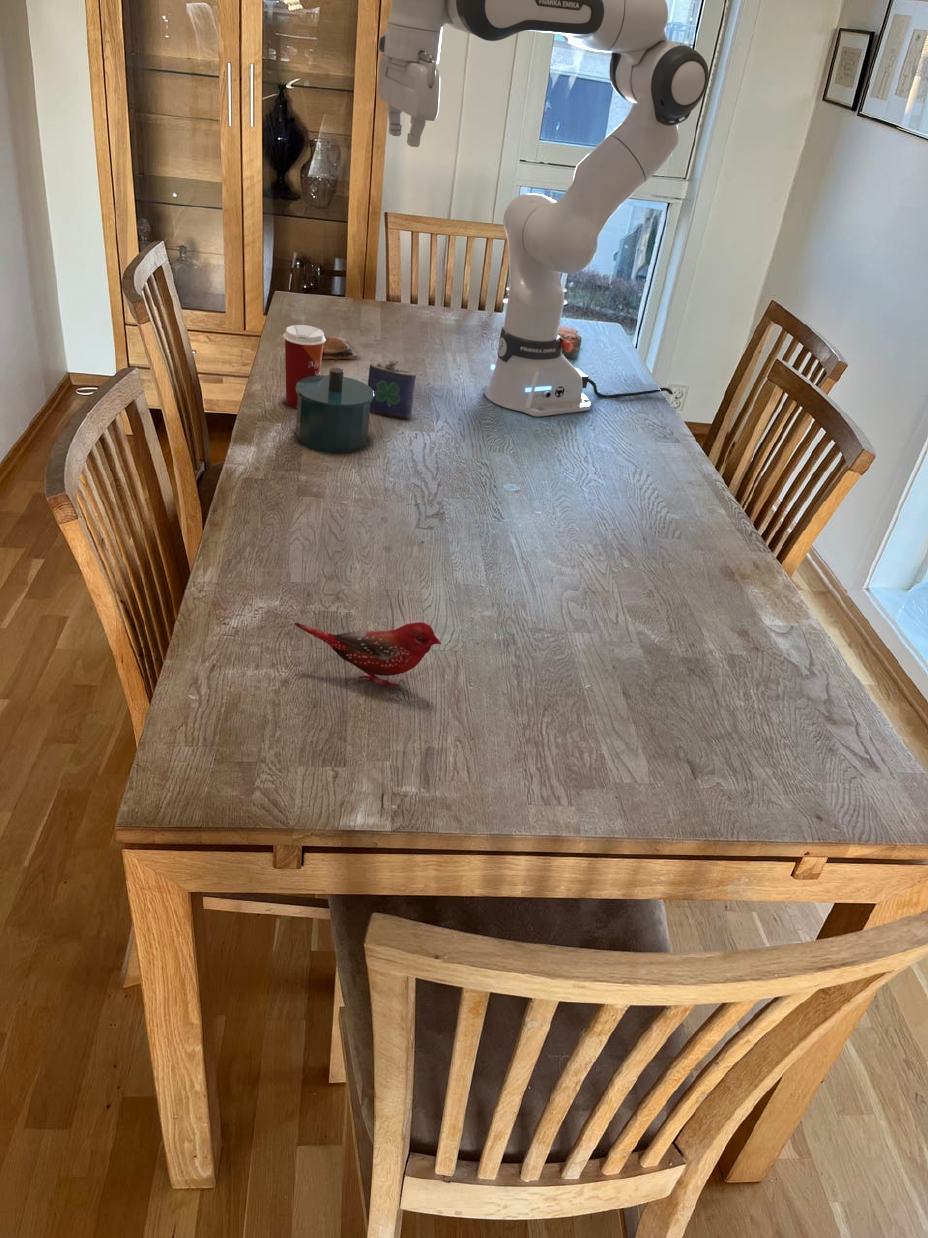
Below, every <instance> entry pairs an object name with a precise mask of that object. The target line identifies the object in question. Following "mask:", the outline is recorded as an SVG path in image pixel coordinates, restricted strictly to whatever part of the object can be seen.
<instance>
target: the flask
mask: <svg viewBox="0 0 928 1238" xmlns="http://www.w3.org/2000/svg"><path fill="white" fill-rule="evenodd" d="M398 363H399V360H397V359H389V360H388V364H385V363H382V361H379V362H373V363H370V364H369V368H368V370H369V371H368V379H367V385H368V386H369V387H371V388H372V389H373V391H374V399H373V400H372V401H371V407H370V413H373V414H375V415H376V414H377V415H379V416H387V417H388V418H393V419H398V420H404V421H405V420H411V418H412V415H413V414H412V413H413V403H414V395H415V393H414V392H415V386H416V380H417V374H416V373H415V372H414V371H412V370H404V369H401V368H397V364H398Z"/></svg>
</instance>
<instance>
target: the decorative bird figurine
mask: <svg viewBox="0 0 928 1238" xmlns="http://www.w3.org/2000/svg"><path fill="white" fill-rule="evenodd" d="M293 624H294V626H296V627H298V628H299V629H301V630H302V631H304V632H306V633H308V634H310V635H311V636H314V637H315V638H317V639H319V640H320V641H323V642H324V643H325V644H326V645H328V646H329V647H330V648H331V649H332V650H333V651H334V653H336V654H337V656H339V657H340V659H342V660H344V662H345V661H346V662H348V663H349V664H351V665H353V666H354V667H356V668H357V669H359V670H361V671H362V672H363V673H364V674H366V675H362V676H359V677H358V678H359V679H364V680H365V681H366V682H370V683H371V682H372V683H374V684H378V685H380V686H383V687H387V686H393V687H395V686H396V687H401V685H400V684H398V683H391V682H390V681H389V680H387V679H383V678H381V677H379V676H382V677H389V676H390V677H392V676H397V675H398V676H399V675H401V674H405V673H407V672H409V671H411V670H413V669H414V668H415V667H417V665H419V664H420V662H421V661H422V660H423V658H424V657H425V656H426V654H428V653H429V652H430V650H431V649H432V646H433V645H442V642H441V641H440V640H439V638H438V637H437V636H436V635H435V631H434V630H433V628H432V627H431V626H430V625H429V624H428V623H426V622H417V621H416V622H412V623H411V622H410V623H406V624H403V625H402V626H399V627H397V628H395V629H389V630H388V629H387V630H356V631H350V632H349V631H348V632H342V633H339V634H333V633H329V632H327V631H323V630H320V629H318V628H314V627H311V626H309V625H305V624H302V623H299V622H295V623H293Z"/></svg>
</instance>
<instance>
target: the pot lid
mask: <svg viewBox="0 0 928 1238" xmlns="http://www.w3.org/2000/svg"><path fill="white" fill-rule="evenodd" d="M344 373H345V371H344V369H343V368H340V367H331V368H330V369H329V373H328V374H320V375H318V376H311V377H307V378H304V379H301V380H300V381H299V382H297V384H296V392H297V394H298V395H299V396H300V397H302V398H303V399H305V400H307V401H309V402H312V403H315V404H318V405H322V406H327V407H335V408H353V407H360V406H364V405H366V404H369V403H370V402H371V401H372V400H373V399H374V391H373V389H372V388H371V387H369V386H368V383H367V384H366V383H364V382H363V381H361V380H358V379H354V378H351V377H347V376H344Z"/></svg>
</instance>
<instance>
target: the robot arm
mask: <svg viewBox="0 0 928 1238" xmlns="http://www.w3.org/2000/svg"><path fill="white" fill-rule="evenodd" d="M668 21H669V8H668V4H667V1H666V0H391V9H390V13H389V16H388V19H387V27H386V30H385V33H384V34H382V35H381V36H380V37H379V38H378V45H377V50H378V53H380V54H381V55H380V57H379V65H378V94H379V99H380V101H382V102H383V103H386V104H387V116H388V134H389V135H391V136H393V137H400V136H401V135H402V126H403V125H402V124H401V114H402V112H403V113H404V114H407V115H408V116H410V121H409V122H410V124H411V125H410V129H409V133H408V132H407V137H406V138H407V140H406V144H407V145H408V146H409V147H411V148H419V147H420V146H421V145H420V144H421V136H422V134H423V132H424V129H425V127H426V122H428V121H429V122H434V121H436V119H437V117H438V114H439V107H440V95H441V94H440V93H441V74H440V71H439V69H438V68H437V65H439V62H440V53H441V45H442V36H443V28H444V26H445V25H446V24H447V25H448V26H450V27H452V28H453V29H455V30H457V31H461V32H464V33H468V34H471V35H474V36H475V37H477V38H479V39H481V40H484V41H488V42H495V41H496V42H497V41H501V40H504V39H507V38H509V37H512V36H513V35H516V34H518V33H522V32H525V31H526V32H537V33H539V32H540V33H549V34H550V33H551V34H559V35H562V37H563V39H564V40H565V42H567V44H571V45H573V46H576V47H579V48H582V49H585V50H589V51H594V52H601V53H602V52H603V53H610V54H611V57H610V60H609V61H610V62H609V71H608V72H609V81H610V84H611V87H612V88H613V90H614V91H615V92H616V93H617V95H618V96H619V97H621V98H622V99H624V100H625V101H628V102H631V103H632V104H631V107H630V110H629V112H628V114H627V116H626V117H625V118H624V120H623V121H622V123H620V124H619V126H617V127H616V128H614V129H613V131H611V132H610V133H609V134H608V135H607V136H606V137H605V138H603V139H602V140H601V142H600V143H598V144H597V145H596V146H595V148H593V149H592V150H591V151H590V152H589V153H588V154H587V155H585V157H584V158H583V159H581V160H580V161H579V162H578V163H577V165H576V167H575V168H574V173H573V180H572V182H571V183H570V185H569V186H568V188H567V190H565V193H564V194H563V195H562V196H561V197H560V198H559V199H558V200H554V199H552V198H551V197H548V196H546V195H544V194H539V193H523V194H520V195H518V196H516V197H515V198H513V199H512V200H511V201H510V202H509V204H508V205H507V207H506V209H505V211H504V214H503V219H502V225H503V229H504V234H505V236H506V239H507V250H508V251H507V252H508V271H509V272H508V273H509V275H508V276H509V283H508V284H509V285H508V286H509V287H508V298H507V305H506V312H505V317H504V322H503V326H501V328H500V329H501V330H500V335H499V338H498V339H499V340H498V345H497V359H496V361H495V364H490V370H492V371H493V372H492V374H491V378H490V380H489V383H488V385H487V387H486V389H485V391H484V395H485V397H486V398H487V399H488V400H489V401H490V402H492V403H494V404H496V405H498V406H500V407H502V408H505V409H509V410H511V411H512V410H513V411H516V412H522V413H524V414H527V415H530V416H532V417H545V416H546V417H547V416H554V415H562V414H570V413H578V412H587V411H590V410H591V405H592V403H591V401H590V399H589V398H588V396H586V395H585V394H584V393H583V389H587V385H588V383H589V384H590V385H591V386H592V388H593V393H594V395H595V396H597V397H599V398H609V399H610V398H611V399H612V398H616V399H617V398H623V397H634V396H641V395H649V394H655V393H660V392H667V393H668V394H669V395H674V393H673V391H672V390H671V389H670V388H668V387H659V388H660V389H661V391H660V390H654V389H648V390H640V391H633V392H632V391H631V392H621V393H613V394H604V393H600V392H599V391H598V388H597V384H596V383H595V382H594V380H592V379H590V378H589V375H587V374H585V373H584V372H583V371H581V370H580V369H579V368H576V367H575V366H574V365H573V364H572V363H571V362H570V361H569V360H568V359H567V357H565V356H563V355H562V349H564V350H565V351H566V352H570V351H571V350H572V348H573V344H572V343H571V342H569V341H568V340H564V339H563V338H561V337H560V336H559V335H558V331H559V326H561V320H562V315H563V310H564V305H565V293H564V290H563V286H562V281H561V274H566V275H567V274H568V275H574V274H578V273H580V272H582V271H584V270H585V269H586V268H588V266H589V265H590V264H591V263H592V262H593V260H594V258H595V256H596V253H597V250H598V241H599V240H598V239H599V237H600V235H601V233H602V231H603V230H604V228H605V226H606V225H607V224H608V222H609V221H610V219H611V218H612V216H614V214H615V213H616V212H617V211H618V209H620V208H621V206H623V205H624V204H625V203H626V202H627V201H628V200H629V199H630V198H631V197H632V196H633V195H634V194H635V193H637V191H638V190H639V189H640V188H641V187H642V186H643V185H645V184H646V183H647V182H648V181H649V180H650V179H651V178H652V177H653V176H654V175H655V173H657V171H658V170H659V169H660V168H661V167H662V166H663V165H664V163H665V162H666V161H667V160H668V159H669V157H670V156H671V155H672V153H673V151H675V149H676V147H677V145H678V143H679V138H680V132H679V127H678V125H679V124H682V123H683V122H685V121H686V120H688V118H689V117H690V116H691V115H690V114H691V113H692V111H693V110H694V109H695V108H696V107H697V106H698V105H699V103H700V101H701V100H702V98H703V97H704V94H705V93H706V90H707V88H708V84H709V78H710V77H709V73H710V71H709V67H708V64H707V61H706V60H705V59H704V57H703V56H702V54H700V52H699V51H697V50H695V49H694V48H693V47H691V46H688V45H682V44H680V43H678V42H675V41H672V40H669V39H668V38H667V35H666V29H667V25H668ZM563 340H564V341H563Z"/></svg>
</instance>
